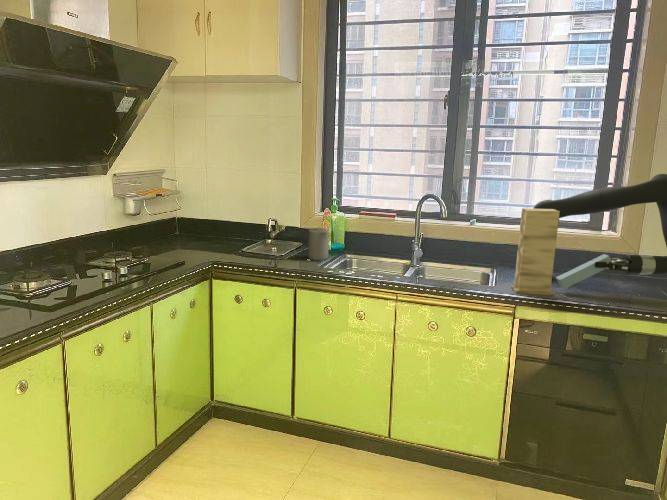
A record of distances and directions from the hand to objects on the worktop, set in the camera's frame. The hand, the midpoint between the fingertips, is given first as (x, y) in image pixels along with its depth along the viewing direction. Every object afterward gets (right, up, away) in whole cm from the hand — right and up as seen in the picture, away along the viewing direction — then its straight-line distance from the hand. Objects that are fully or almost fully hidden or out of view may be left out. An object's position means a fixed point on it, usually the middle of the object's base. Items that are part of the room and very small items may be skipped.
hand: (592, 263), depth 201 cm
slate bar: (-2, -5, +1) cm, 5 cm away
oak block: (-22, -11, +3) cm, 25 cm away
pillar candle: (-107, +1, +51) cm, 118 cm away
